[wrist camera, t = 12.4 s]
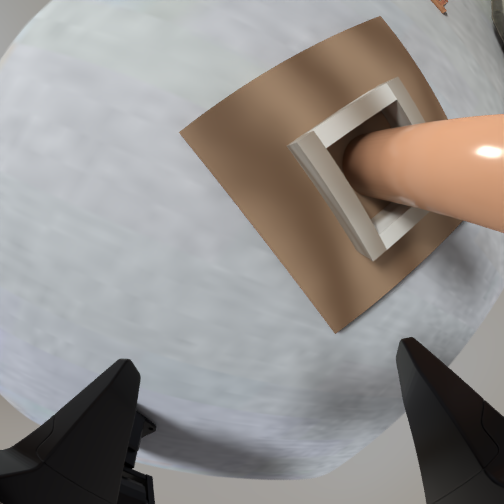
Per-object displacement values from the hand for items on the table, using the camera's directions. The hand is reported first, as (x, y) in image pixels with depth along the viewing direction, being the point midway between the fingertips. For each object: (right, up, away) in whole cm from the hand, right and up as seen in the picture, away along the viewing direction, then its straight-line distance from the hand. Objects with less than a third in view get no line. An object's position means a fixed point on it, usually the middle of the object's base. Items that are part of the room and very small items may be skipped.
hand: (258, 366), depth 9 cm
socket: (+8, +10, +10) cm, 16 cm away
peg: (+8, +9, +9) cm, 16 cm away
